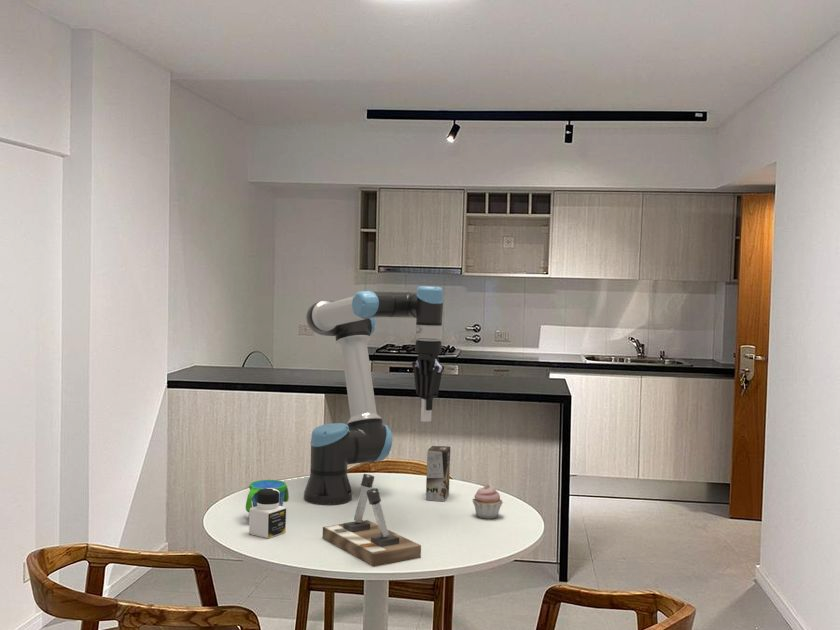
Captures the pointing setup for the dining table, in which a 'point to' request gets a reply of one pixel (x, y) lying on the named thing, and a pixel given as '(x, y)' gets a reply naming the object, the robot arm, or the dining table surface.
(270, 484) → the snack cup
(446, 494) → the coffee box
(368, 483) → the lever
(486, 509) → the cupcake
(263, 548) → the dining table surface
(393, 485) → the dining table surface
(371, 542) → the switch unit
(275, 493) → the medicine bottle
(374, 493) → the lever
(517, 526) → the dining table surface
